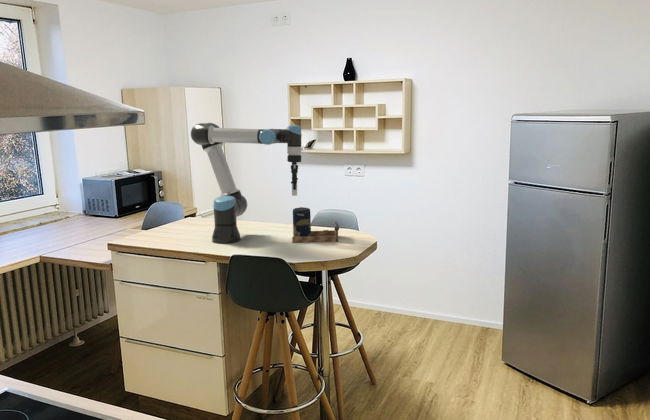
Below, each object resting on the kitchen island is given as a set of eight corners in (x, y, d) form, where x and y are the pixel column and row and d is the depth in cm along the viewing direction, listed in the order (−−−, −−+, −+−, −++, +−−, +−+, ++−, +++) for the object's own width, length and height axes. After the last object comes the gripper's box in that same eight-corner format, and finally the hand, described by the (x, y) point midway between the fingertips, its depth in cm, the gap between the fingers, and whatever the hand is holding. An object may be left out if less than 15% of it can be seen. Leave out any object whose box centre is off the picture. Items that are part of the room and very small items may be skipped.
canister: (312, 237, 286) (311, 205, 283) (309, 241, 277) (309, 208, 274) (294, 237, 287) (294, 205, 284) (292, 241, 278) (291, 208, 275)
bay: (292, 242, 274) (292, 227, 273) (293, 236, 290) (293, 221, 288) (339, 241, 275) (339, 226, 274) (337, 235, 290) (337, 220, 289)
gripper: (302, 156, 269) (301, 197, 273) (300, 153, 294) (300, 190, 297) (287, 156, 269) (287, 197, 272) (287, 153, 293) (287, 190, 297)
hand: (294, 193), depth 285 cm, fingers open, 13 cm apart
